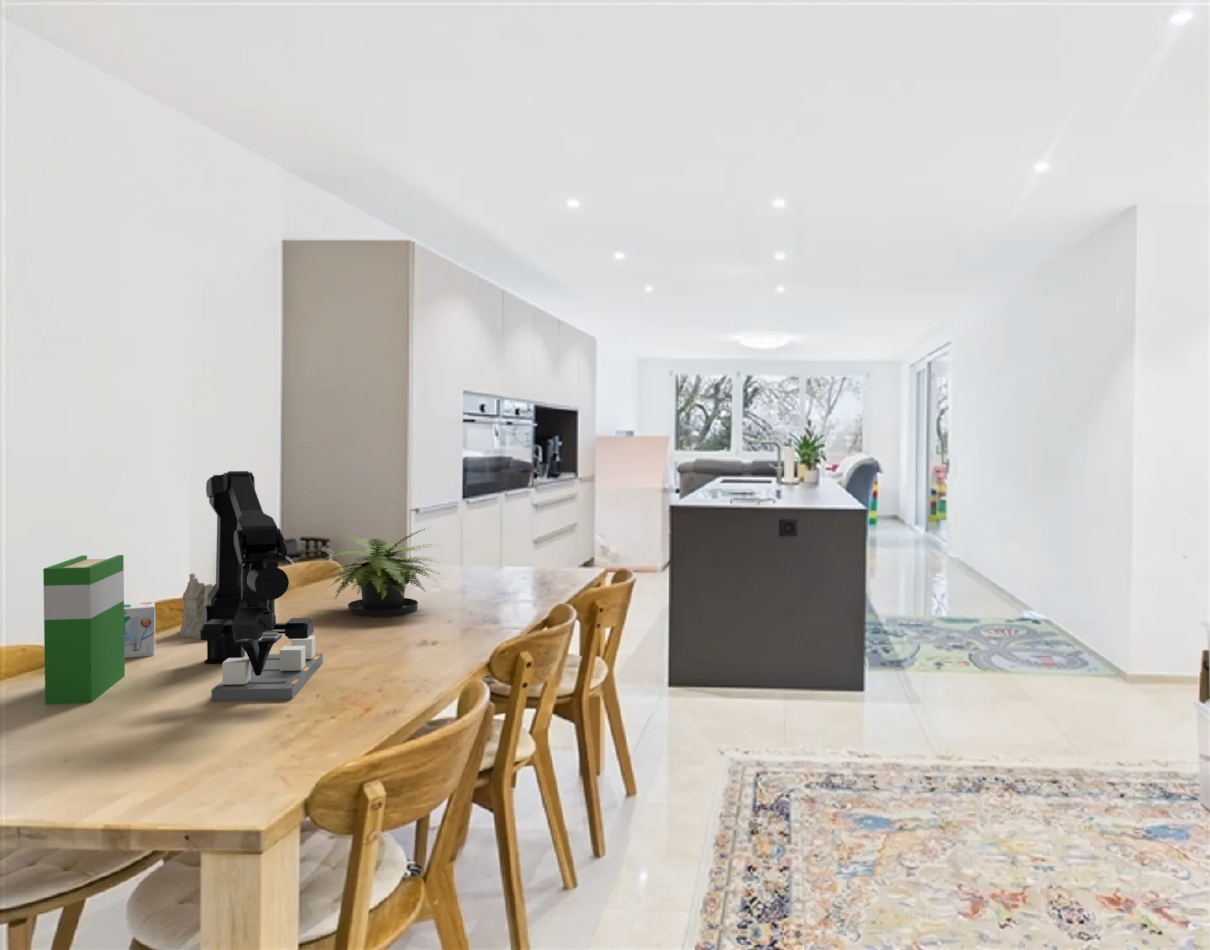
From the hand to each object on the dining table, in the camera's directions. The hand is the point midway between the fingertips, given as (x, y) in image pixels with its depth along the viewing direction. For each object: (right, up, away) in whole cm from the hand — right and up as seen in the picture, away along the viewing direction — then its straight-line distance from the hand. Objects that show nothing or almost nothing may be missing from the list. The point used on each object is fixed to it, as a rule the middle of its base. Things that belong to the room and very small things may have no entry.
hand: (258, 675), depth 161 cm
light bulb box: (-39, -2, +28) cm, 48 cm away
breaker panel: (-1, -3, +9) cm, 9 cm away
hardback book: (-33, -3, +2) cm, 33 cm away
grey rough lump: (-31, -2, +52) cm, 60 cm away
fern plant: (+3, -1, +80) cm, 80 cm away
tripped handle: (-4, -1, 0) cm, 4 cm away
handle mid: (+3, -1, +9) cm, 10 cm away
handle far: (+2, 0, +18) cm, 18 cm away
